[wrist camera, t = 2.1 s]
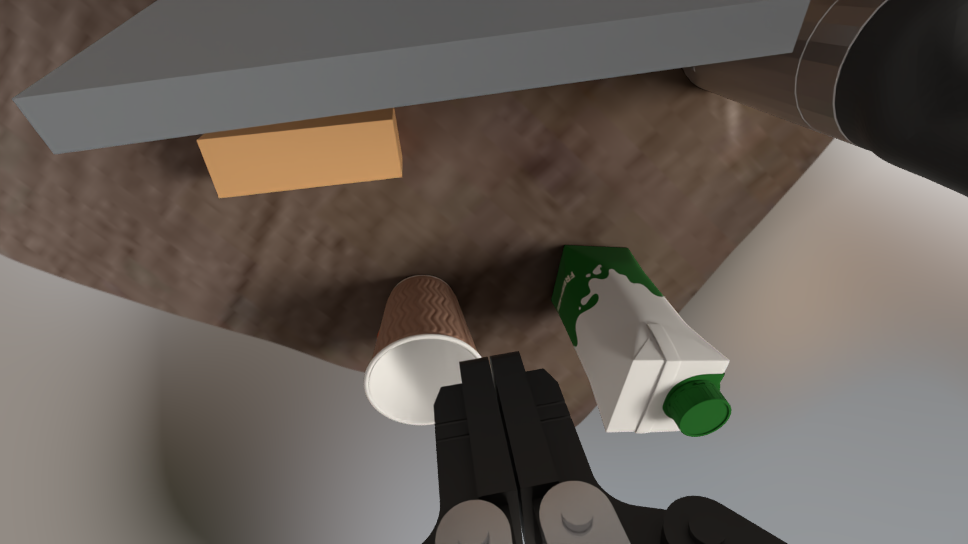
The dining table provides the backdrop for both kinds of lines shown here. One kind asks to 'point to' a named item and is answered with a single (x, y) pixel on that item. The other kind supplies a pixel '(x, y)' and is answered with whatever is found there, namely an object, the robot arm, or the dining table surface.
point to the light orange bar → (304, 153)
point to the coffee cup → (417, 350)
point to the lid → (370, 58)
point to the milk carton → (637, 347)
